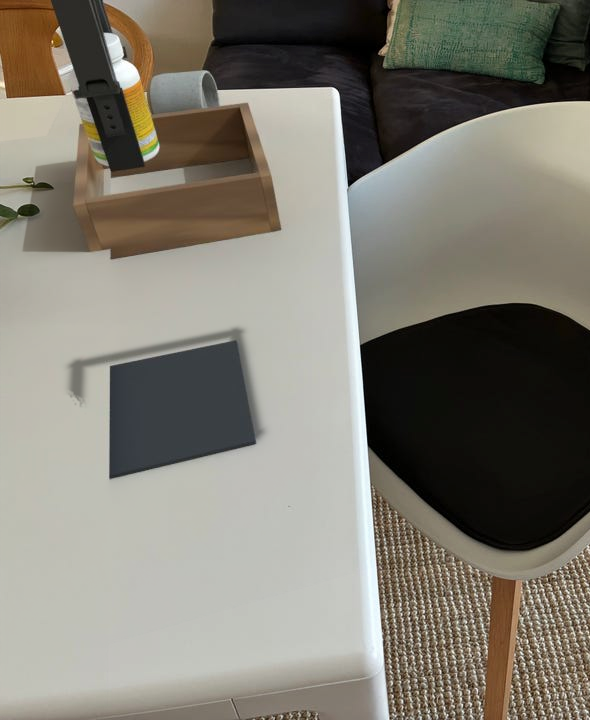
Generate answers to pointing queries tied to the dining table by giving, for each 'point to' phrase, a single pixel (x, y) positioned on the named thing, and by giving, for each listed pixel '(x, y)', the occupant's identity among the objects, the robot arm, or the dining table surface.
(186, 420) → the slate mat
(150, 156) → the supplement bottle
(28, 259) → the dining table surface
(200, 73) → the ceramic mug
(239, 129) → the wooden box
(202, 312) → the dining table surface
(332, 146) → the dining table surface
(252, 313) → the dining table surface
